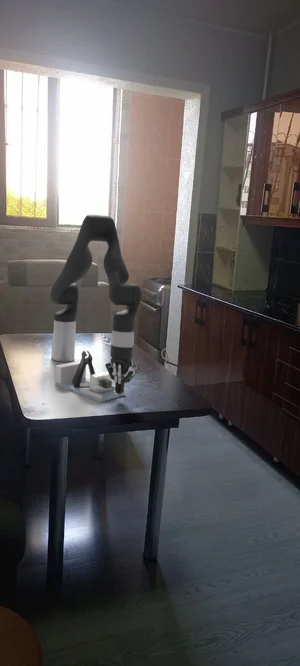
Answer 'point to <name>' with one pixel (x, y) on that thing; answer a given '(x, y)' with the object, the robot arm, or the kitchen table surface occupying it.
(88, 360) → the phone stand
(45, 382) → the kitchen table surface
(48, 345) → the kitchen table surface
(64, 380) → the vise body
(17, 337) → the kitchen table surface
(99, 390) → the block
